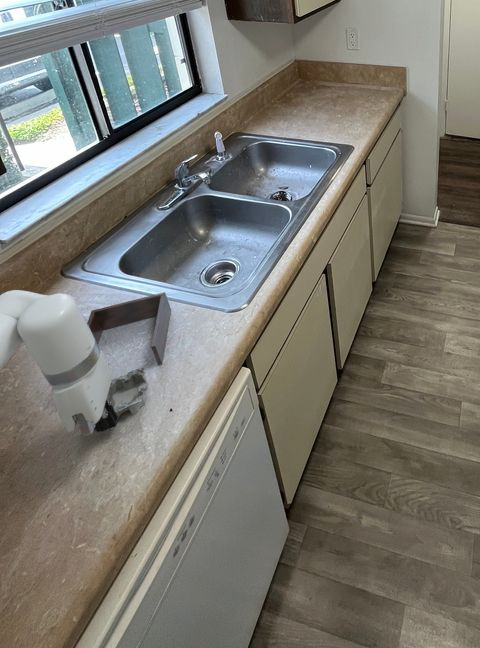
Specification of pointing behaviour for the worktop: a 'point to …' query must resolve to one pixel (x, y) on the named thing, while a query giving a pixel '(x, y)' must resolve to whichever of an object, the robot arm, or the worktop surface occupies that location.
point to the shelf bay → (135, 319)
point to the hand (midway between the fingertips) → (107, 425)
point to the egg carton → (128, 392)
